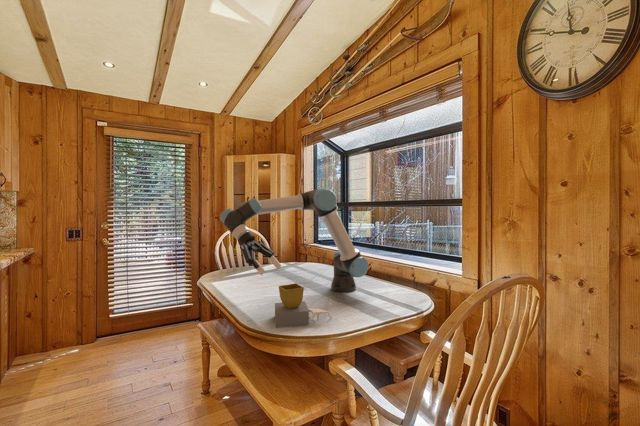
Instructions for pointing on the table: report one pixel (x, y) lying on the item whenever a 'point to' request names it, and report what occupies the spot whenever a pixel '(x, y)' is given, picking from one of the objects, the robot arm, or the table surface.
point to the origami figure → (318, 311)
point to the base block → (291, 315)
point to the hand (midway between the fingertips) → (271, 270)
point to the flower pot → (291, 295)
